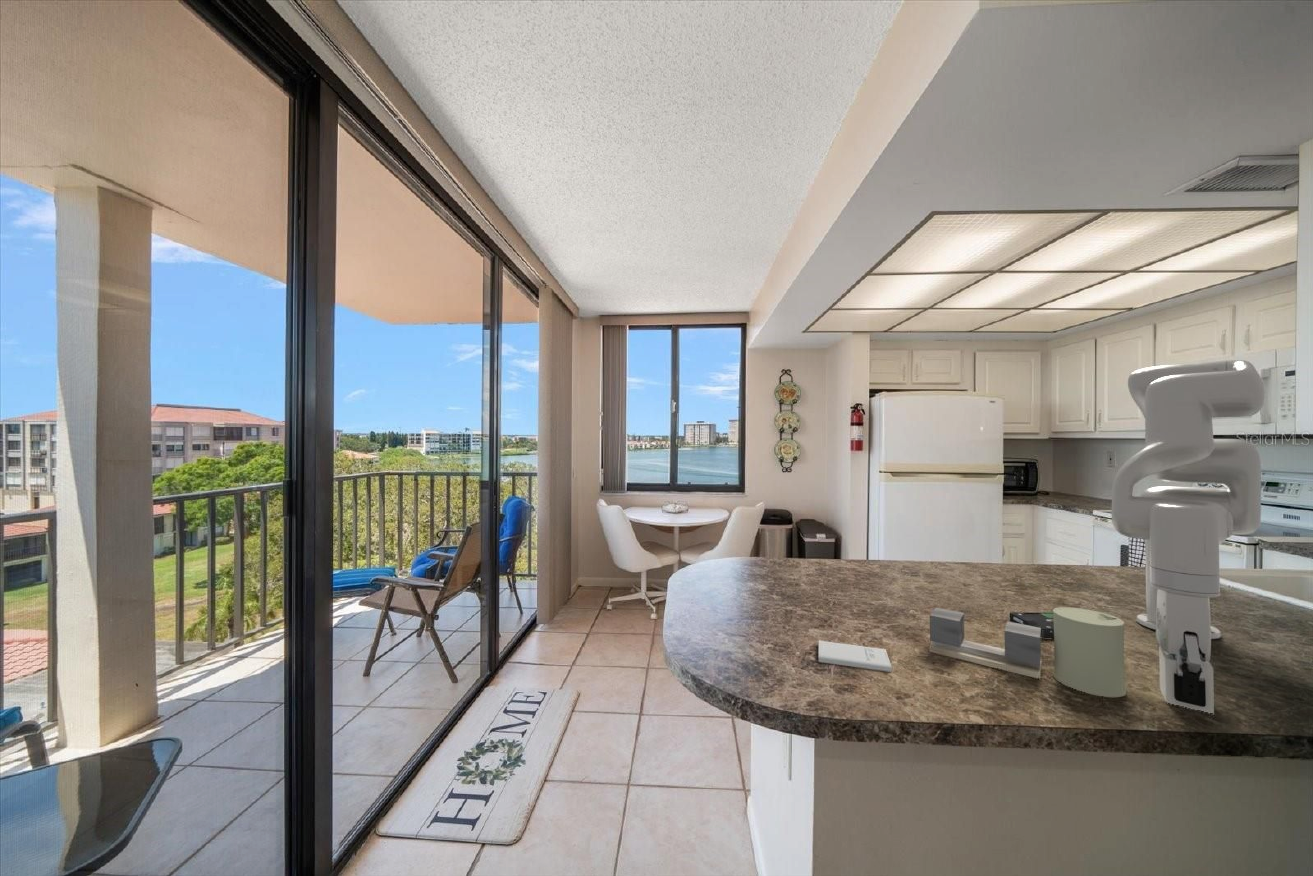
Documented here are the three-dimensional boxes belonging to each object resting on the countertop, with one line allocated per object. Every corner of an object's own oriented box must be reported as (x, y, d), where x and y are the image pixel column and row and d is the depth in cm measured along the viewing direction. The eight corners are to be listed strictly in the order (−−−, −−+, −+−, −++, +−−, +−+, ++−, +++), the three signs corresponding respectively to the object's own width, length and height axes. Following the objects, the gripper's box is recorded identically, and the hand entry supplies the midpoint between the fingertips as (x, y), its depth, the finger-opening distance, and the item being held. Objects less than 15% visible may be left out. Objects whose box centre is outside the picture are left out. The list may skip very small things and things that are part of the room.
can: (1142, 700, 76) (1140, 624, 76) (1076, 695, 78) (1075, 621, 78) (1099, 673, 85) (1098, 605, 85) (1041, 669, 87) (1040, 602, 87)
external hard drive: (818, 647, 97) (885, 656, 93) (818, 665, 89) (891, 675, 85) (818, 639, 97) (885, 647, 93) (818, 656, 89) (891, 666, 85)
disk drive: (1044, 642, 100) (1115, 642, 100) (1043, 629, 100) (1115, 628, 100) (1008, 624, 110) (1073, 623, 110) (1008, 611, 110) (1073, 611, 110)
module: (1159, 688, 80) (1159, 645, 80) (1204, 698, 77) (1204, 653, 77) (1165, 703, 75) (1165, 657, 75) (1213, 714, 72) (1213, 666, 72)
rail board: (936, 640, 99) (936, 606, 99) (1041, 665, 88) (1040, 627, 88) (929, 651, 94) (929, 615, 94) (1040, 679, 83) (1039, 638, 83)
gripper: (1143, 566, 85) (1144, 668, 85) (1158, 588, 72) (1160, 708, 72) (1206, 574, 80) (1208, 681, 80) (1234, 599, 67) (1237, 727, 67)
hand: (1185, 693), depth 76 cm, fingers closed on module, 6 cm apart
